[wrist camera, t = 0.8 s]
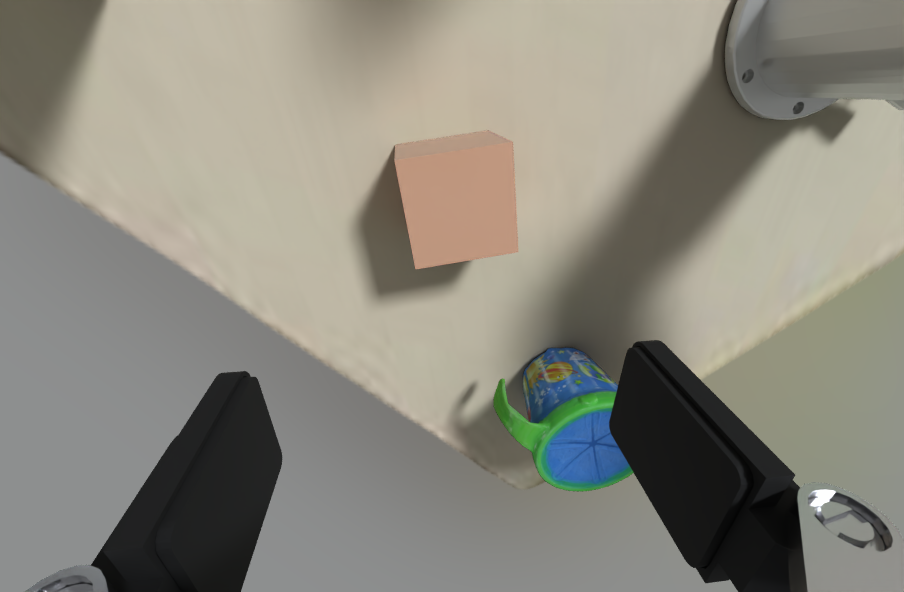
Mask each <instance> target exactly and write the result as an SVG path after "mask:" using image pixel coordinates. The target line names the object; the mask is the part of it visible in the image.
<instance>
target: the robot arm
mask: <svg viewBox="0 0 904 592" xmlns="http://www.w3.org/2000/svg"><path fill="white" fill-rule="evenodd" d="M725 68H726V74H727V80H728V83H729V86H730V88H731V91H732V94H733V95H734V97H735V98H736V100H737V101H738V102H739V104H740V105H741V106H742V107H743V108H745V109H746V110H747V111H748V112H750V113H751V114H754V115H756V116H759V117H761V118H767V119H775V120H792V119H797V118H802V117H806V116H808V115H811V114H813V113H816V112H818V111H821V110H822V109H824V108H826V107H827V106H829V105H831V104H832V103H834V102H836V101H837V100H838V99H876V100H885V101H887V102H888V103H890V104H891V105H892V106H894V107H895V108H897V109H898V110H904V0H738V1H737V3H736V5H735V8H734V11H733V15H732V18H731V21H730V24H729V28H728V34H727V39H726V45H725ZM609 428H610V432H611V435H612V437H613V438H614V440H615V442H616V443H617V445H618V447H619V449H620V450H621V452H622V454H623V455H624V457H625V459H626V460H627V462H628V464H629V466H630V467H631V469H632V471H633V472H634V474H635V476H636V477H637V479H638V481H639V482H640V484H641V486H642V487H643V489H644V491H645V493H646V494H647V496H648V498H649V500H650V501H651V502H652V505H653V506H654V508H655V510H656V511H657V513H658V515H659V516H660V518H661V520H662V522H663V523H664V525H665V526H666V528H667V530H668V532H669V533H670V535H671V537H672V538H673V540H674V542H675V544H676V545H677V547H678V549H679V550H680V552H681V554H682V555H683V557H684V559H685V560H686V562H687V563H688V564H689V565H690V566H691V567H693V568H696V569H697V570H698V572H699V574H700V575H701V577H702V579H703V580H704V582H705V583H711V582H719V581H726V580H729V579H730V580H731V581H732V583H733V584H734V586H735V588H736V589H737V590H738V592H904V539H903V538H902V536H901V534H900V532H899V530H898V529H897V527H896V526H895V525H894V524H893V523H892V522H891V521H890V520H889V518H888V517H887V516H886V515H884V514H883V513H882V512H881V511H880V510H878V509H877V508H876V507H875V506H873V505H872V504H871V503H869V502H867V501H866V500H864V499H862V498H861V497H859V496H858V495H856V494H853V493H851V492H849V491H847V490H844V489H843V488H840V487H837V486H833V485H830V484H827V483H816V482H813V483H809V484H804V485H803V486H802V487H801V488H800V487H799V486H798V485H797V484H796V483H795V482H794V481H793V478H794V476H795V474H794V473H793V472H792V471H791V470H790V469H789V468H788V467H787V466H786V465H785V464H784V463H783V462H782V461H781V460H780V459H779V458H778V457H777V456H776V455H775V454H774V453H773V452H772V451H771V450H770V449H769V448H768V447H767V446H766V445H765V444H764V443H763V442H762V441H761V440H760V439H759V438H758V437H757V436H756V435H755V434H754V433H753V432H752V431H751V430H750V429H749V428H748V427H747V426H746V425H745V424H744V423H743V422H742V421H741V420H740V419H739V418H738V417H737V416H736V415H735V414H734V413H733V412H732V411H731V410H730V409H729V408H728V407H727V406H726V405H725V404H724V403H723V402H722V401H721V400H720V399H719V398H718V397H717V396H716V395H715V394H714V393H713V392H712V391H711V390H710V389H709V388H708V387H707V386H706V385H705V384H704V383H703V382H702V381H701V380H700V379H699V378H698V377H697V376H696V375H695V374H694V373H693V372H692V371H691V370H690V369H689V368H688V367H687V366H686V365H685V364H684V363H683V362H682V361H681V360H680V359H679V358H678V357H677V356H676V355H675V354H674V353H673V352H672V351H671V350H670V349H669V348H668V347H667V346H666V345H665V344H664V343H663V342H661V341H658V340H654V341H641V342H636V343H635V344H634V345H633V347H632V348H629V349H628V350H627V353H626V357H625V361H624V365H623V369H622V373H621V377H620V381H619V385H618V389H617V393H616V396H615V400H614V404H613V408H612V412H611V416H610V420H609ZM281 465H282V452H281V449H280V446H279V443H278V440H277V437H276V434H275V430H274V427H273V424H272V421H271V418H270V415H269V412H268V409H267V406H266V403H265V400H264V397H263V394H262V391H261V388H260V385H259V382H258V379H257V378H256V377H250V374H249V373H248V372H246V371H243V372H228V373H221V374H219V375H218V376H217V377H216V378H215V379H214V381H213V383H212V384H211V386H210V387H209V389H208V390H207V392H206V393H205V395H204V397H203V398H202V400H201V401H200V403H199V404H198V406H197V407H196V409H195V410H194V412H193V414H192V415H191V417H190V418H189V420H188V421H187V423H186V425H185V426H184V428H183V429H182V430H181V432H180V434H179V435H178V436H177V437H176V438H175V439H174V440H173V441H172V442H171V444H170V445H169V447H168V448H167V450H166V451H165V453H164V454H163V456H162V457H161V459H160V460H159V462H158V464H157V465H156V467H155V468H154V470H153V471H152V473H151V474H150V476H149V477H148V479H147V480H146V482H145V483H144V485H143V486H142V488H141V489H140V491H139V492H138V494H137V495H136V497H135V499H134V500H133V502H132V503H131V505H130V506H129V508H128V509H127V511H126V512H125V514H124V515H123V517H122V519H121V520H120V521H119V523H118V525H117V526H116V528H115V529H114V531H113V532H112V534H111V535H110V537H109V538H108V540H107V541H106V543H105V544H104V546H103V547H102V549H101V551H100V552H99V554H98V555H97V557H96V558H95V560H94V561H93V563H92V564H91V565H80V566H74V567H70V568H67V569H64V570H60V571H58V572H56V573H54V574H52V575H50V576H48V577H46V578H44V579H42V580H41V581H39V582H38V583H36V584H35V585H33V586H32V587H31V588H29V589H28V590H26V591H25V592H241V589H242V586H243V583H244V580H245V577H246V573H247V571H248V567H249V564H250V561H251V558H252V555H253V552H254V549H255V546H256V543H257V540H258V537H259V534H260V531H261V527H262V524H263V521H264V518H265V515H266V512H267V509H268V506H269V503H270V500H271V496H272V493H273V491H274V487H275V484H276V481H277V478H278V475H279V472H280V469H281Z"/></svg>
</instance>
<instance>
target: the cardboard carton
mask: <svg viewBox="0 0 904 592" xmlns="http://www.w3.org/2000/svg"><path fill="white" fill-rule="evenodd" d="M394 161H395V166H396V171H397V177H398V182H399V187H400V192H401V197H402V202H403V208H404V213H405V218H406V223H407V228H408V233H409V239H410V244H411V249H412V254H413V259H414V264H415V270H416V269H422V268H427V267H433V266H439V265H445V264H451V263H457V262H463V261H468V260H474V259H480V258H486V257H492V256H498V255H504V254H509V253H515V252H518V234H517V214H516V194H515V173H514V153H513V142H512V141H510V140H508V139H506V138H504V137H502V136H499V135H497V134H495V133H493V132H491V131H489V130H488V131H481V132H475V133H468V134H462V135H455V136H449V137H442V138H436V139H430V140H423V141H417V142H410V143H404V144H397V145H395V157H394Z"/></svg>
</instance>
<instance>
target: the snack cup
mask: <svg viewBox="0 0 904 592" xmlns="http://www.w3.org/2000/svg"><path fill="white" fill-rule="evenodd" d="M617 389H618V385H617V384H616V382H615V381H614V380H612V379H611V378H610V377H609V376H608V375H607V374H606V373H605V372H604V371H603V370H602V369H601V368H600V367H599V366H598V365H597V364H596V363H595V362H594V361H593V360H592V359H591V358H590V357H589V356H588V355H586V354H585V353H584V352H582V351H578V350H577V349H574V348H549V349H547V351H546V352H545V353H543V354H541V355H540V356H538V357H537V358H535V359H534V360H533V361H532V362H531V363H530V364H529V366H528V367H527V368H525V371H524V373H523V392H524V397H525V403H526V408H527V414H528V418H529V421H527V420H526V419H525V418H524V417H523V416H522V415H521V414H520V413H518V412H517V411H516V410H515V409H514V408H513V407H512V406H510V405H509V404H508V401H507V395H506V388H505V379H501V380H500V381H499V384H498V386H497V389H496V392H495V395H494V409H495V411H496V413H497V415H498V416H499V418H500V420H501V421H502V423H503V424H504V426H505V427H506V429H507V430H508V431H509V433H510V434H511V435H512V436H513V437H514V438H515V439H516V440H517V441H518V442H519V443H520V444H521V445H522V446H524V447H525V448H527V449H528V450H530V451H531V452H532V455H533V459H534V463H535V465H536V468H537V470H538V473H539V474H540V476H541V477H542V478H543V479H544V480H545V481H546V482H547V483H549V484H551V485H552V486H554V487H556V488H559V489H563V490H568V491H590V490H596V489H600V488H603V487H607V486H610V485H613V484H615V483H617V482H619V481H621V480H623V479H625V478H627V477H628V476H630V475H631V474H632V473H634V472H633V471H632V469H631V467H630V466H629V464H628V462H627V460H626V459H625V457H624V455H623V454H622V452H621V450H620V449H619V447H618V445H617V443H616V442H615V440H614V438H613V437H612V435H611V432H610V428H609V420H610V416H611V412H612V408H613V404H614V400H615V396H616V393H617Z"/></svg>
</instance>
